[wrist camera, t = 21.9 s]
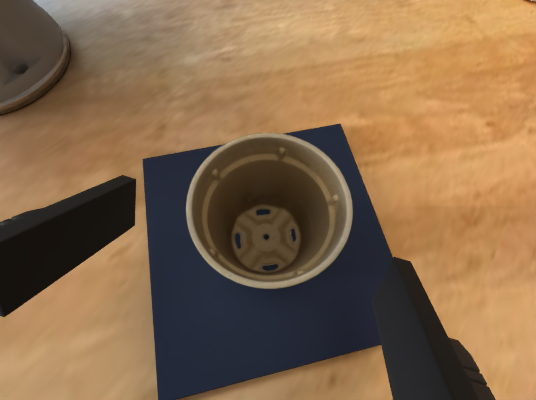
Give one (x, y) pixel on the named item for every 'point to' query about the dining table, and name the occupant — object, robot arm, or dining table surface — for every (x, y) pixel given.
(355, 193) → the placemat
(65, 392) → the dining table surface
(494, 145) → the dining table surface
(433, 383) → the robot arm
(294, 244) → the flower pot
